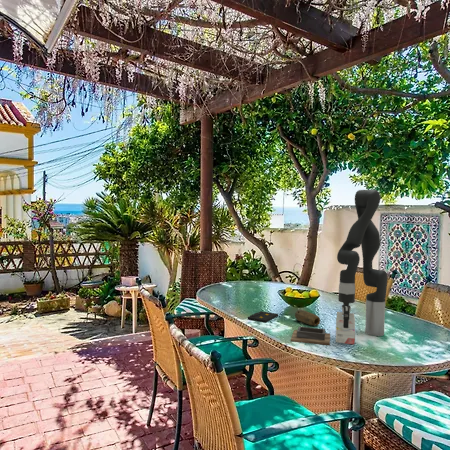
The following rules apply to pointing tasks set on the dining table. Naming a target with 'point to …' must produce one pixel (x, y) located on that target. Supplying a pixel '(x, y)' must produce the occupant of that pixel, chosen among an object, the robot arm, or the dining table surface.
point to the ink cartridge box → (345, 329)
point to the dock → (311, 336)
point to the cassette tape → (262, 316)
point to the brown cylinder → (307, 317)
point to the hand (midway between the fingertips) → (345, 325)
